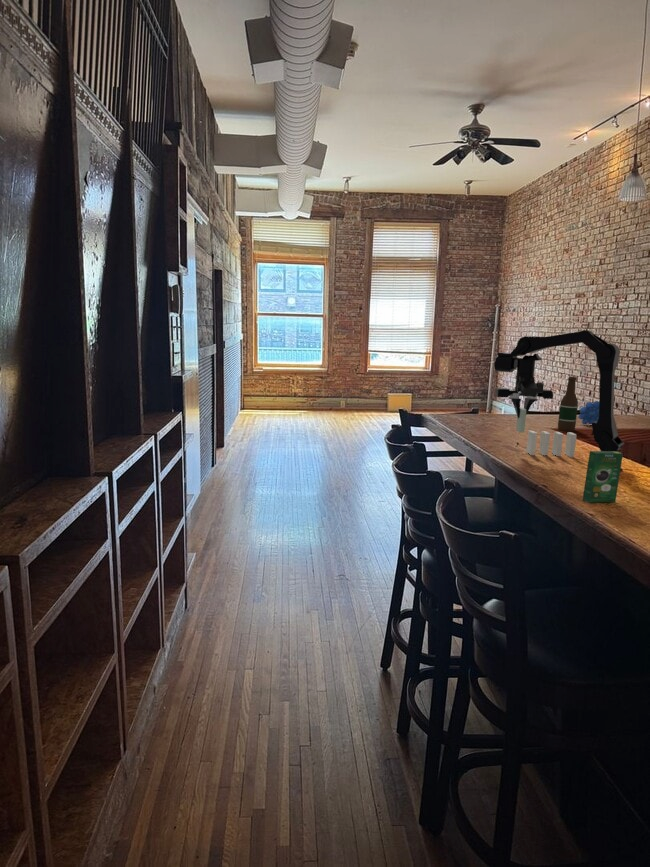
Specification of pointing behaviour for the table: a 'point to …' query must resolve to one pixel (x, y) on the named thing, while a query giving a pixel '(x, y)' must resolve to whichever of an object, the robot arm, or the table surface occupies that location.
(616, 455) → the coffee box
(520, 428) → the domino
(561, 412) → the beer bottle
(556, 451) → the domino
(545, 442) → the domino
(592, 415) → the grapes
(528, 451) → the domino
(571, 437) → the domino
